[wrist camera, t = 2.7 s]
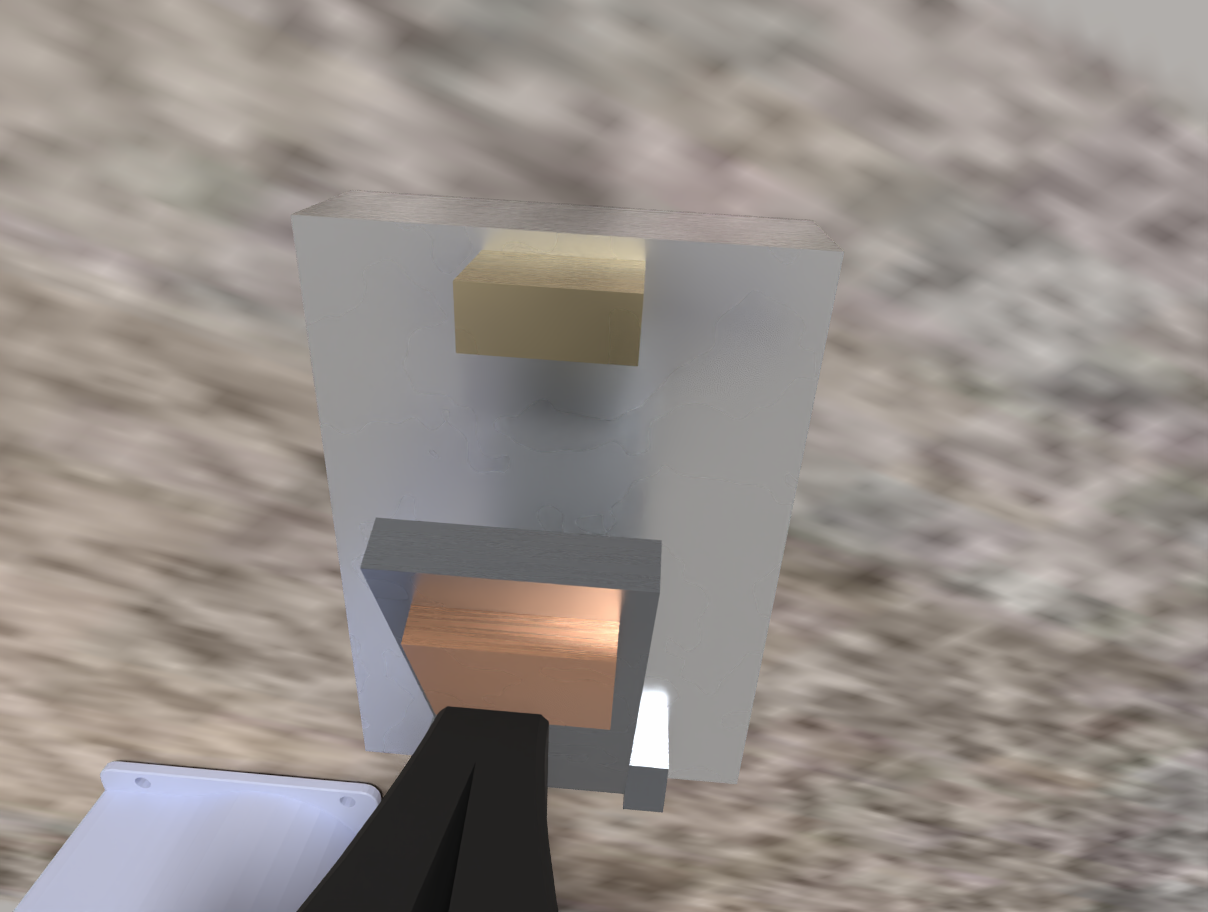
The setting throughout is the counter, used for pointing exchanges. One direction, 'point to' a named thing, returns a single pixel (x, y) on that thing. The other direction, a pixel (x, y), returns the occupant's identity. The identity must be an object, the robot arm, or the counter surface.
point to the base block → (573, 420)
